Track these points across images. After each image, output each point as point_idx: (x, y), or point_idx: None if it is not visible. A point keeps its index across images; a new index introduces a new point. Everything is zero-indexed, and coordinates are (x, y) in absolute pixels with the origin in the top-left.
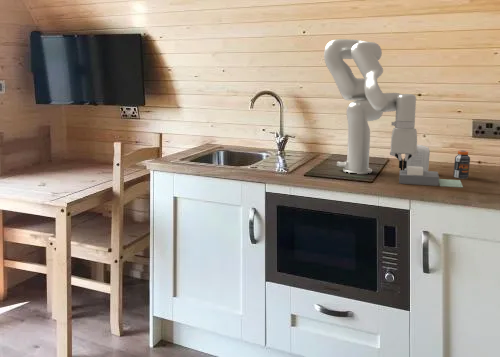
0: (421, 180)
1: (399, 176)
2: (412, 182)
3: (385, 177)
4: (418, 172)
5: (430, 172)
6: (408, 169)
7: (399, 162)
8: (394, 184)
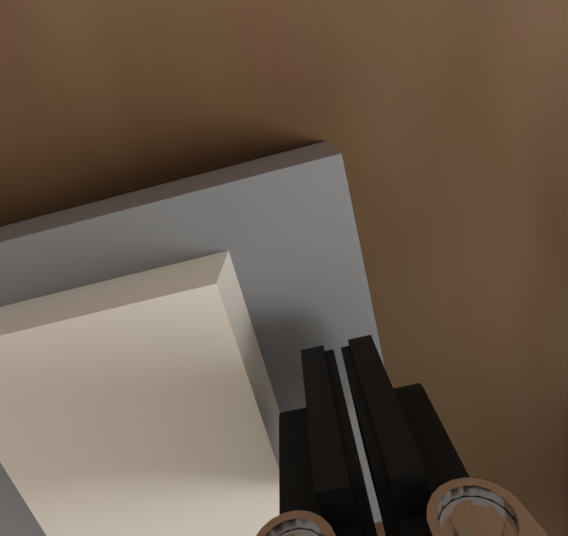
0: (23, 228)
1: (336, 151)
2: (151, 189)
3: (537, 387)
4: (35, 313)
5: (7, 529)
6: (211, 323)
7: (451, 462)
8: (371, 53)
